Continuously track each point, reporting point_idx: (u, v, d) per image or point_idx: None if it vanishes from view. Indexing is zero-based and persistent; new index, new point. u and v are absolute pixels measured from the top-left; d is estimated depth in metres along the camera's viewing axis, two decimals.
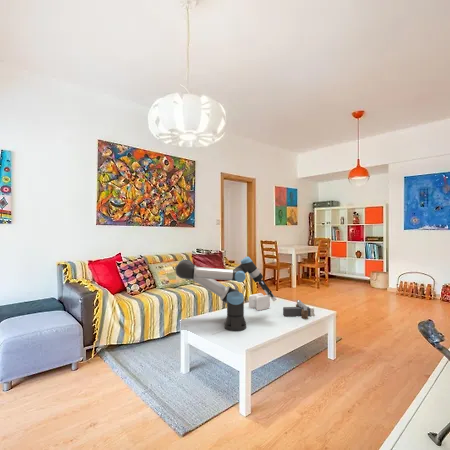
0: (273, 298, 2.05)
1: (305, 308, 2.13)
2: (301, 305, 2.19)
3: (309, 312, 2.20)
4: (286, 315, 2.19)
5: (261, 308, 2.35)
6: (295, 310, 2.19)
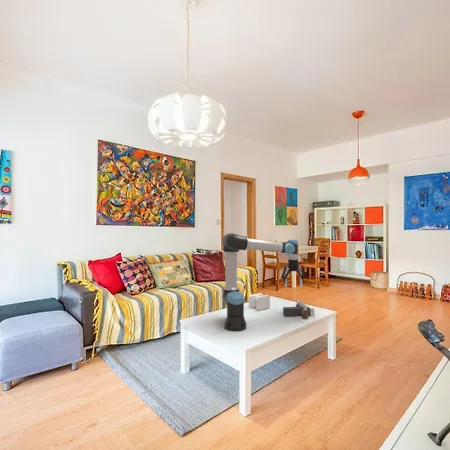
0: None
1: (305, 308, 2.13)
2: (301, 305, 2.19)
3: (309, 312, 2.20)
4: (286, 315, 2.19)
5: (261, 308, 2.35)
6: (295, 310, 2.19)
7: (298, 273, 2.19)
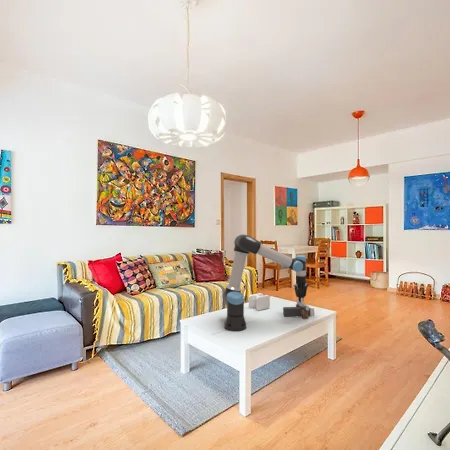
0: None
1: (307, 308, 2.13)
2: None
3: (309, 312, 2.20)
4: (286, 315, 2.19)
5: (261, 308, 2.35)
6: (295, 310, 2.19)
7: (302, 290, 2.19)
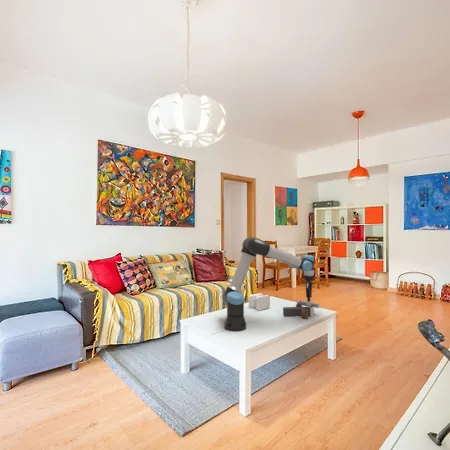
0: None
1: (318, 305, 2.20)
2: None
3: (309, 312, 2.20)
4: (286, 315, 2.19)
5: (261, 308, 2.35)
6: (295, 310, 2.19)
7: (310, 289, 2.22)
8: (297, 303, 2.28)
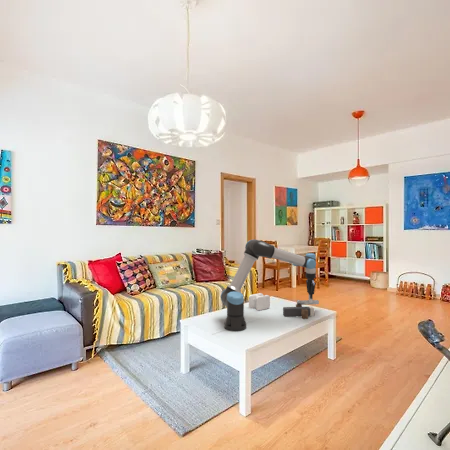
0: None
1: None
2: None
3: (309, 312, 2.20)
4: (286, 315, 2.19)
5: (261, 308, 2.35)
6: (295, 310, 2.19)
7: None
8: (298, 303, 2.28)
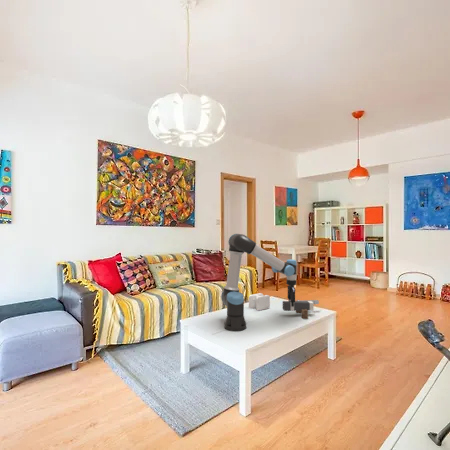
0: None
1: None
2: None
3: (308, 306, 2.20)
4: (285, 308, 2.19)
5: (261, 308, 2.35)
6: (294, 304, 2.19)
7: None
8: None
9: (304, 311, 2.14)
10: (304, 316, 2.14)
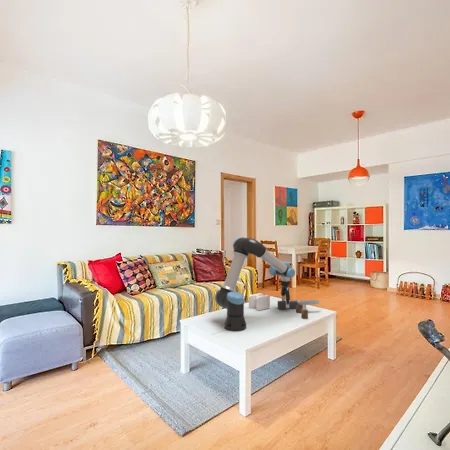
0: None
1: None
2: (311, 301, 2.29)
3: None
4: (280, 308, 2.37)
5: (261, 308, 2.35)
6: None
7: None
8: (298, 303, 2.28)
9: (304, 311, 2.14)
10: (304, 316, 2.14)
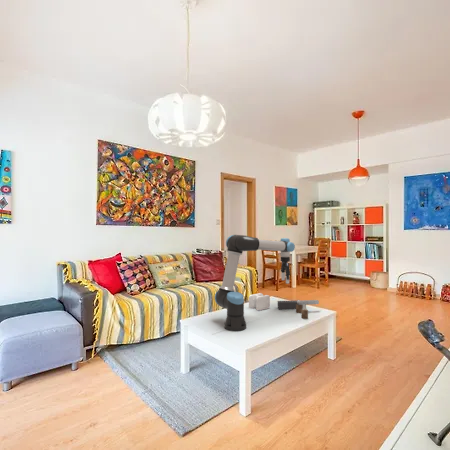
0: None
1: None
2: (311, 301, 2.29)
3: None
4: (280, 308, 2.37)
5: (261, 308, 2.35)
6: (288, 303, 2.37)
7: None
8: (298, 303, 2.28)
9: (304, 311, 2.14)
10: (304, 316, 2.14)
